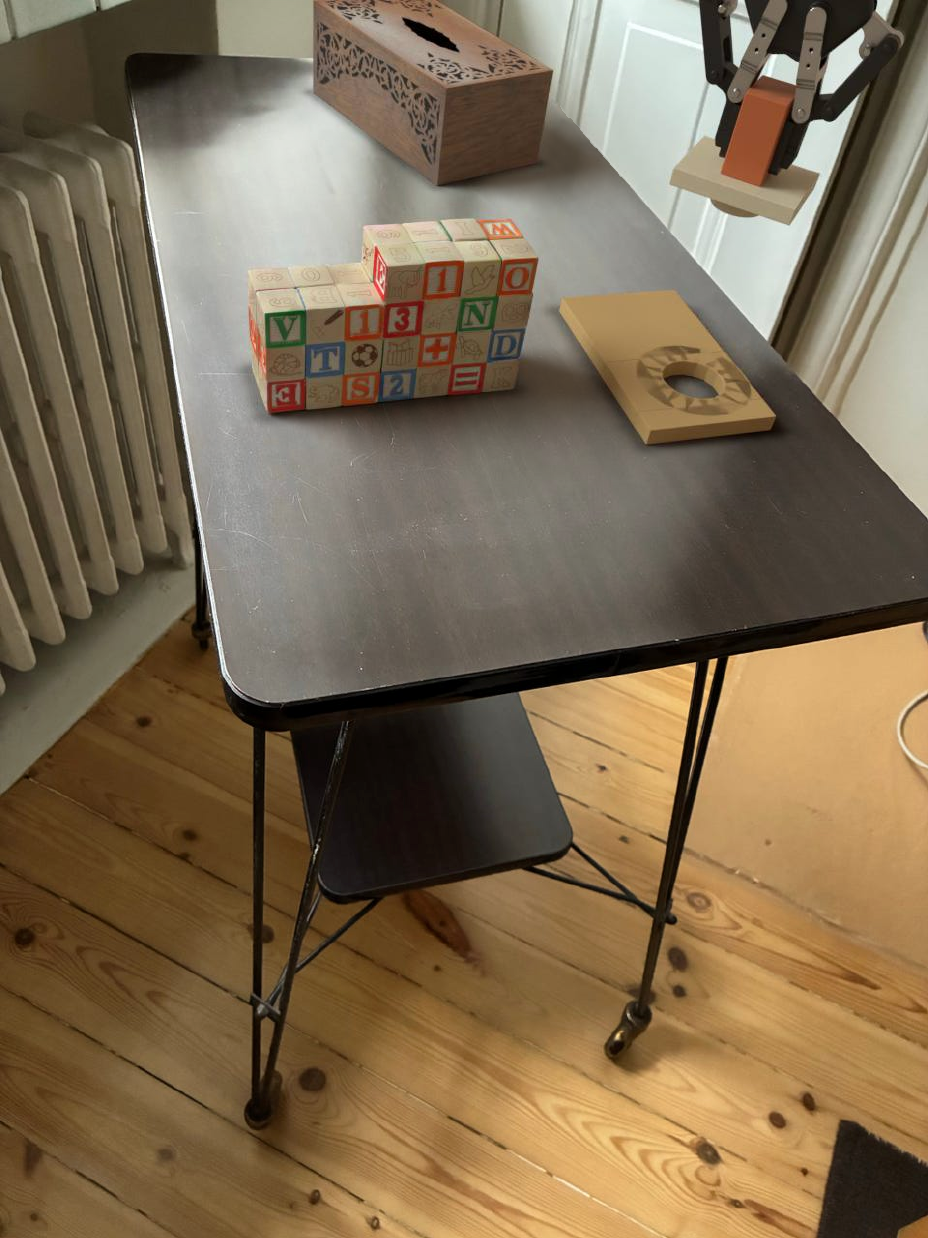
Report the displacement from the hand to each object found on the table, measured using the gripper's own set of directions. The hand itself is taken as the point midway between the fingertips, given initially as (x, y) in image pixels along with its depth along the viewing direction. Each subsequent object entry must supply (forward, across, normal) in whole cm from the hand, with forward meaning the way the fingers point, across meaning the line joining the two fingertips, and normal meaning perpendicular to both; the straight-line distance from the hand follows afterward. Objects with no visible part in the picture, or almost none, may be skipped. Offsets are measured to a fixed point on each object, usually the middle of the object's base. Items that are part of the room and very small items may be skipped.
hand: (751, 161), depth 70 cm
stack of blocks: (+21, -22, -12) cm, 33 cm away
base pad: (+21, -3, +4) cm, 22 cm away
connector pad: (+3, 0, 0) cm, 3 cm away
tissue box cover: (+21, -44, +34) cm, 59 cm away
